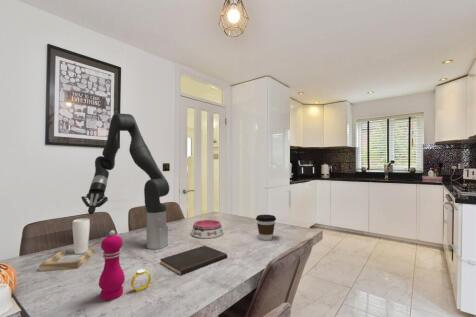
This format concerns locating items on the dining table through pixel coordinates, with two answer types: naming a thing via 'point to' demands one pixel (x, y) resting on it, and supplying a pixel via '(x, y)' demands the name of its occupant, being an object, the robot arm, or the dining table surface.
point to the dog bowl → (207, 229)
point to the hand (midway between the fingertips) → (90, 213)
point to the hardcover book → (193, 259)
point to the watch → (140, 274)
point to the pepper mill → (111, 268)
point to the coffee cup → (266, 226)
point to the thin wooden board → (51, 264)
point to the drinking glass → (81, 235)
